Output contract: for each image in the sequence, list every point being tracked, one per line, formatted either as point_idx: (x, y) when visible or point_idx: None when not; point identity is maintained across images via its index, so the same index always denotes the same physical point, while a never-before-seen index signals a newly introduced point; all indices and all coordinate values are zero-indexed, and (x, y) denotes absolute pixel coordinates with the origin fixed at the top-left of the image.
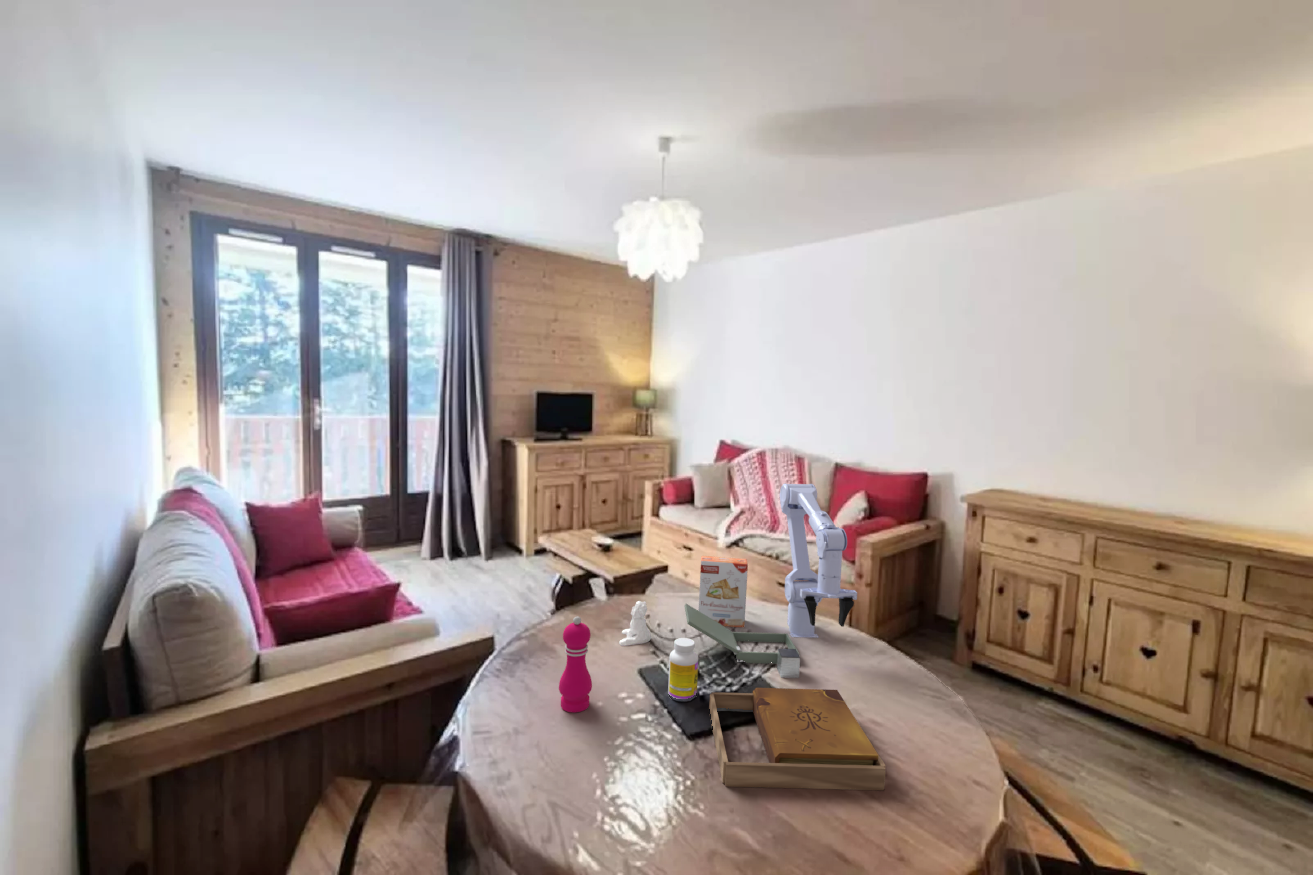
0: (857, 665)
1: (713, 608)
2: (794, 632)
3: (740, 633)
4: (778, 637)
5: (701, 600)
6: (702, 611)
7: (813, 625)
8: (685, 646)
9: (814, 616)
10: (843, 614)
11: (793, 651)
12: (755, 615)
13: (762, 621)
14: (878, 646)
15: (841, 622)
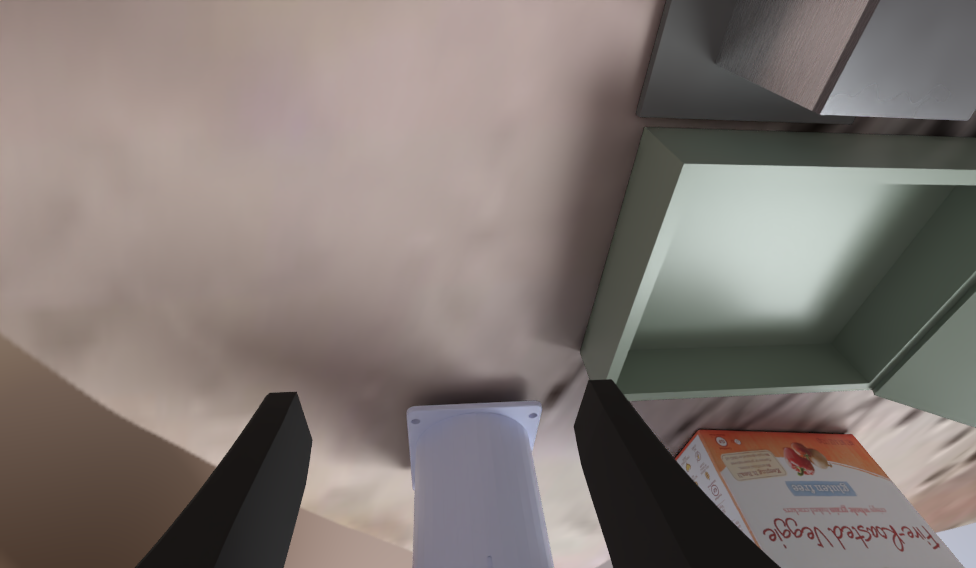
0: (228, 168)
1: (872, 517)
2: (520, 431)
3: (834, 383)
4: (642, 378)
5: (943, 551)
6: (895, 499)
7: (603, 381)
8: None
9: (651, 470)
10: (224, 545)
11: (887, 52)
12: (581, 517)
13: (578, 493)
14: (87, 383)
15: (283, 434)
